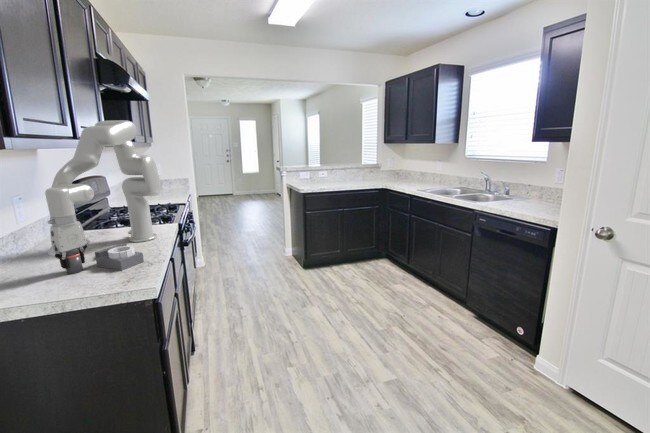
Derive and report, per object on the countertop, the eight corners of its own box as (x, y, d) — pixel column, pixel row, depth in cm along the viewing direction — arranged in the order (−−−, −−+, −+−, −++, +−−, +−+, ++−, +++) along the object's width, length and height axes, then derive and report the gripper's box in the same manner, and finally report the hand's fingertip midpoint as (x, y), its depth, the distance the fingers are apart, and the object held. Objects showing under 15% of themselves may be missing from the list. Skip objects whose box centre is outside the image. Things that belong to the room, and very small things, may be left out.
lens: (63, 272, 130) (58, 248, 128) (77, 267, 135) (72, 244, 133) (72, 274, 128) (67, 249, 126) (86, 269, 133) (81, 245, 131)
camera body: (97, 266, 137) (94, 251, 135) (119, 258, 146) (117, 243, 144) (122, 270, 132) (119, 254, 130) (143, 261, 141) (141, 246, 139)
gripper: (45, 226, 118) (56, 275, 122) (93, 215, 133) (101, 259, 137) (31, 225, 120) (43, 272, 125) (80, 214, 136) (89, 257, 140)
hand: (73, 265), depth 131 cm, fingers closed on lens, 5 cm apart
